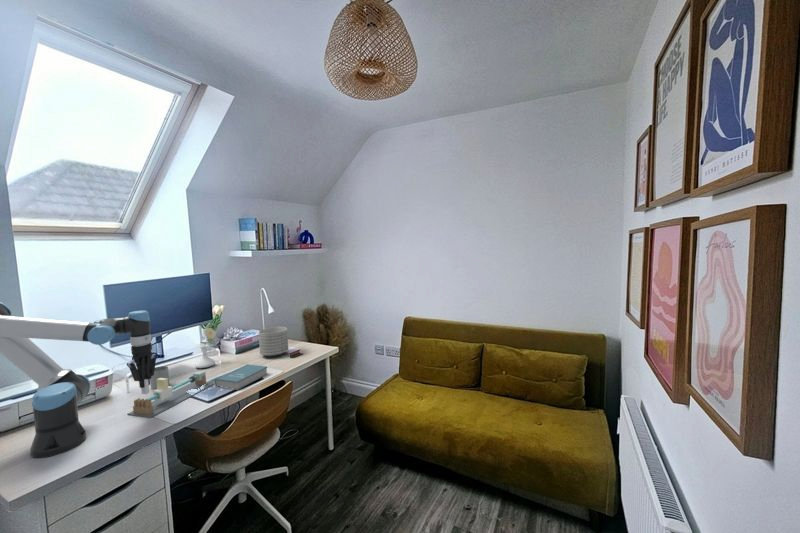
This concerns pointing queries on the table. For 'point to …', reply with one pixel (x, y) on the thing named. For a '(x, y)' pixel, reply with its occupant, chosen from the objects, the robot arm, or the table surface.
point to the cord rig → (156, 407)
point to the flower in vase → (205, 360)
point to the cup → (159, 375)
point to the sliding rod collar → (163, 389)
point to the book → (241, 376)
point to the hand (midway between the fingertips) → (145, 393)
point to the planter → (273, 341)
